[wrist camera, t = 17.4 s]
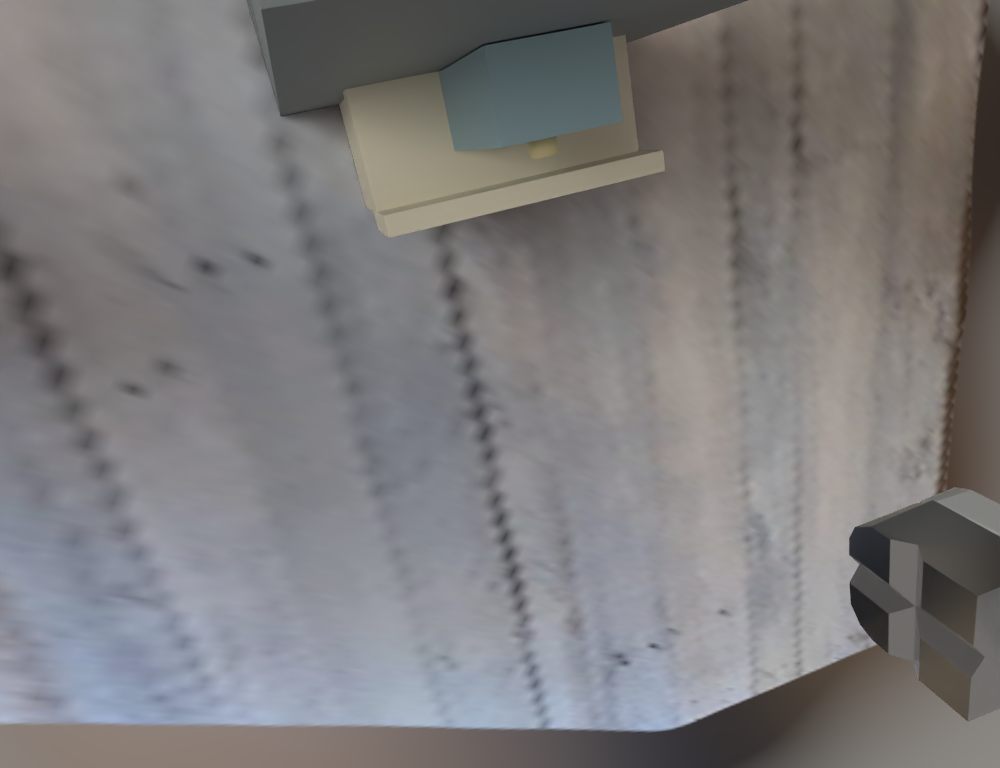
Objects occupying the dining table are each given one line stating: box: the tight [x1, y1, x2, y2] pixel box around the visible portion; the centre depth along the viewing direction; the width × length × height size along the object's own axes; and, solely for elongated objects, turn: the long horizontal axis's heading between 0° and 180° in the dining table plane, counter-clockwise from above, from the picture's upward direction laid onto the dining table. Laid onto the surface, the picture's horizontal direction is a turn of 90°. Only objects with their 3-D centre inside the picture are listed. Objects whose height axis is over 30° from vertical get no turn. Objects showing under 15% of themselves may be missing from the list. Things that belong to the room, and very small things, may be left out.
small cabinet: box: [439, 22, 623, 160], centre depth 29 cm, size 5×4×8 cm
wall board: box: [247, 0, 747, 238], centre depth 27 cm, size 20×14×30 cm
